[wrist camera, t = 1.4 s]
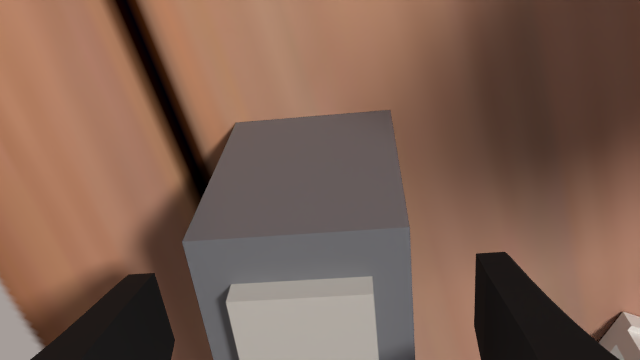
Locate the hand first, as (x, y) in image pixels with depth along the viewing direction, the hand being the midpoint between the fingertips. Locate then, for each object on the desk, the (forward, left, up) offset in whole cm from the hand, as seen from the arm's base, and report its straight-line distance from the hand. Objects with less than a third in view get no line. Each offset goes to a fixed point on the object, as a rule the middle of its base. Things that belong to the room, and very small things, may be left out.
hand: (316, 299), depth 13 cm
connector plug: (0, 0, -4) cm, 4 cm away
